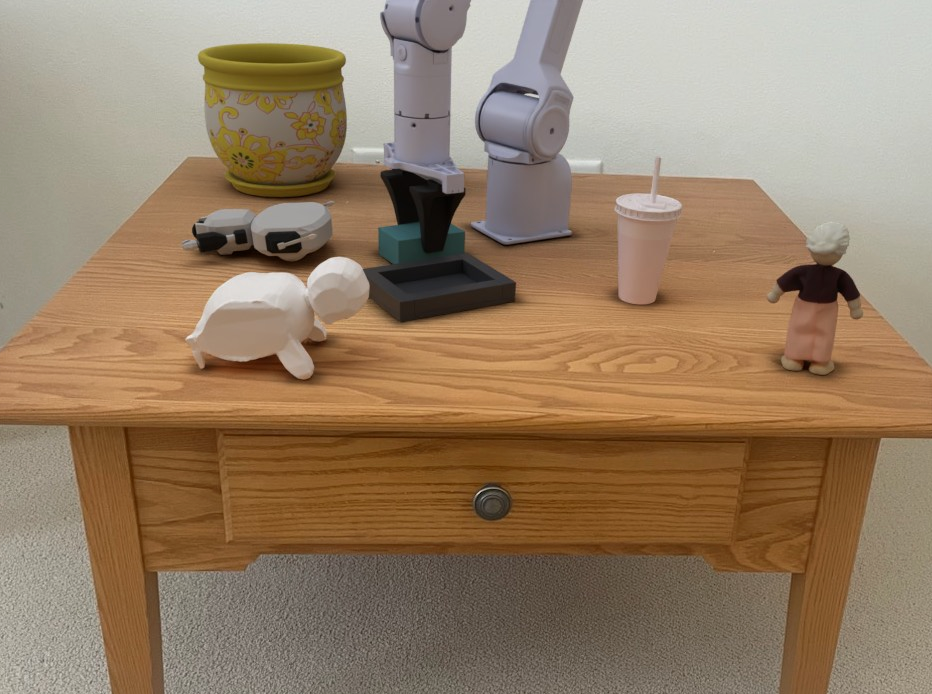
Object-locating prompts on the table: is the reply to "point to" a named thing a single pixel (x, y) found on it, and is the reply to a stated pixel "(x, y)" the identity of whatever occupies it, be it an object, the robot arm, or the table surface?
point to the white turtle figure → (278, 314)
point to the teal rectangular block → (415, 243)
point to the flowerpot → (275, 115)
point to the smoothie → (644, 240)
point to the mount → (437, 286)
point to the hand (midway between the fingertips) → (421, 243)
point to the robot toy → (265, 230)
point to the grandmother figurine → (817, 300)
